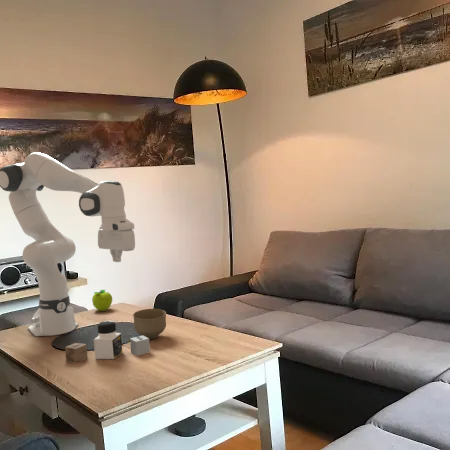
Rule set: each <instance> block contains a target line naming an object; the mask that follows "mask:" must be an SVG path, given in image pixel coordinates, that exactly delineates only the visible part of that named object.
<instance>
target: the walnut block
mask: <svg viewBox="0 0 450 450" xmlns="http://www.w3.org/2000/svg"><path fill="white" fill-rule="evenodd" d="M87 347H88V346H87V344H86V343H82V342H73V343H72V344H70V345H67V346H65V347H64V348H65V361H66V362H71V363H75V364H77V363H80V362H82V361H84V360H86V359H89V357H88V348H87Z"/></svg>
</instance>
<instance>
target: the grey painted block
mask: <svg viewBox="0 0 450 450" xmlns="http://www.w3.org/2000/svg"><path fill="white" fill-rule="evenodd" d="M129 343H130V353H132V354H133V355H135V356H141V355H144V354H149V353H151V349H150V347H151V346H150V339H149V338H147V337H145V336H143V335H142V336H141V335H139V336H134V337H130V338H129Z"/></svg>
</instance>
